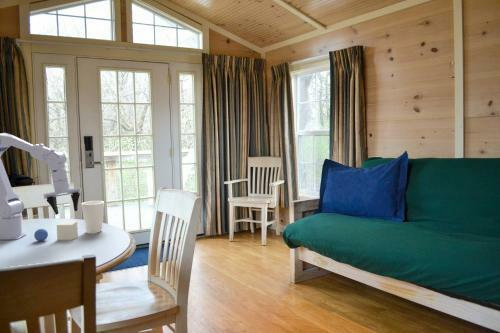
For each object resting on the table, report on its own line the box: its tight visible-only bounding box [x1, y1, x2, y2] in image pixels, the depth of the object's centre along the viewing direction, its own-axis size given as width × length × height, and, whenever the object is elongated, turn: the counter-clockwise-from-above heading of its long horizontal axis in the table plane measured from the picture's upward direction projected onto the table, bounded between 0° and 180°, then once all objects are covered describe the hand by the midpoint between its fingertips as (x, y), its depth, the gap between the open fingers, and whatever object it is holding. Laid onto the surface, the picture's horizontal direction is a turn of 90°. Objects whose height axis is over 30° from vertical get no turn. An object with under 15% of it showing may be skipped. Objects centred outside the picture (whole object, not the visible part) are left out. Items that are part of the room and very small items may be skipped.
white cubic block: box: [56, 221, 79, 241], centre depth 173 cm, size 6×6×6 cm
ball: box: [33, 228, 49, 242], centre depth 169 cm, size 5×5×5 cm
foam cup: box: [80, 200, 105, 234], centre depth 184 cm, size 10×9×13 cm
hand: (66, 212), depth 172 cm, fingers open, 7 cm apart
